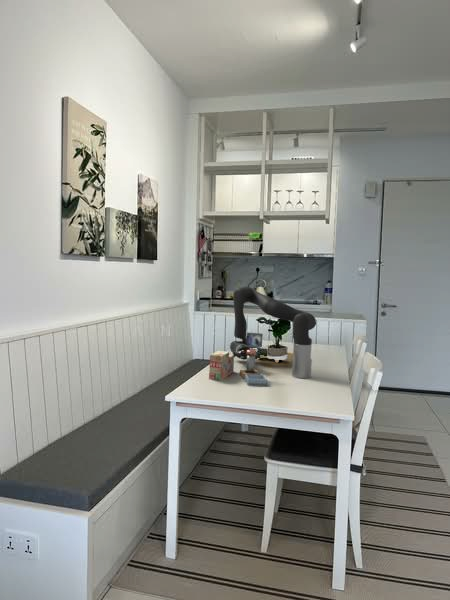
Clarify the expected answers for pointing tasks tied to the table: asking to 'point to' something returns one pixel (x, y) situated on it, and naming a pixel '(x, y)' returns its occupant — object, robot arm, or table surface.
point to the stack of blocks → (221, 365)
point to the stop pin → (250, 361)
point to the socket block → (243, 372)
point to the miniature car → (263, 350)
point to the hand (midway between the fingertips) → (248, 356)
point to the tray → (256, 380)
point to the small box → (254, 340)
